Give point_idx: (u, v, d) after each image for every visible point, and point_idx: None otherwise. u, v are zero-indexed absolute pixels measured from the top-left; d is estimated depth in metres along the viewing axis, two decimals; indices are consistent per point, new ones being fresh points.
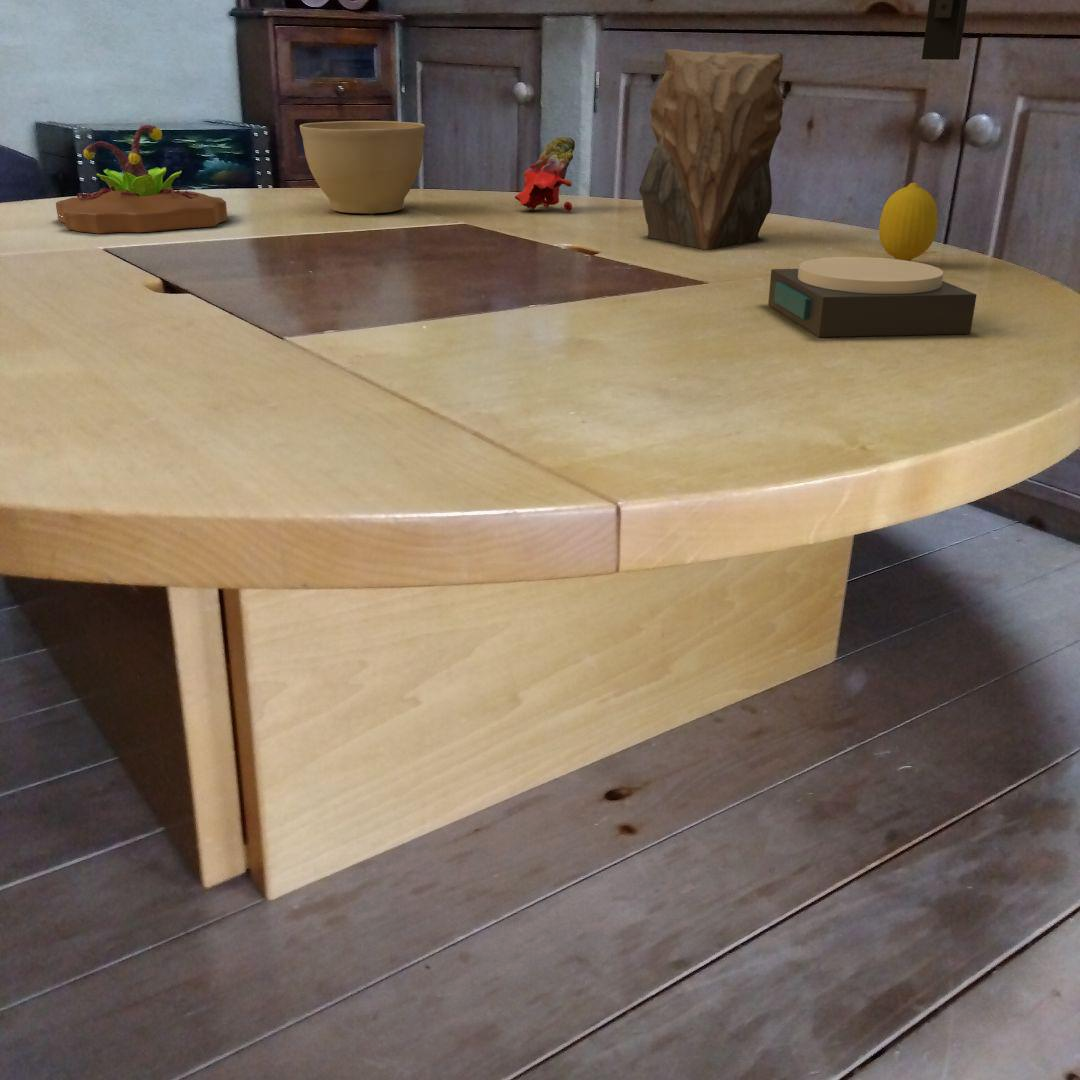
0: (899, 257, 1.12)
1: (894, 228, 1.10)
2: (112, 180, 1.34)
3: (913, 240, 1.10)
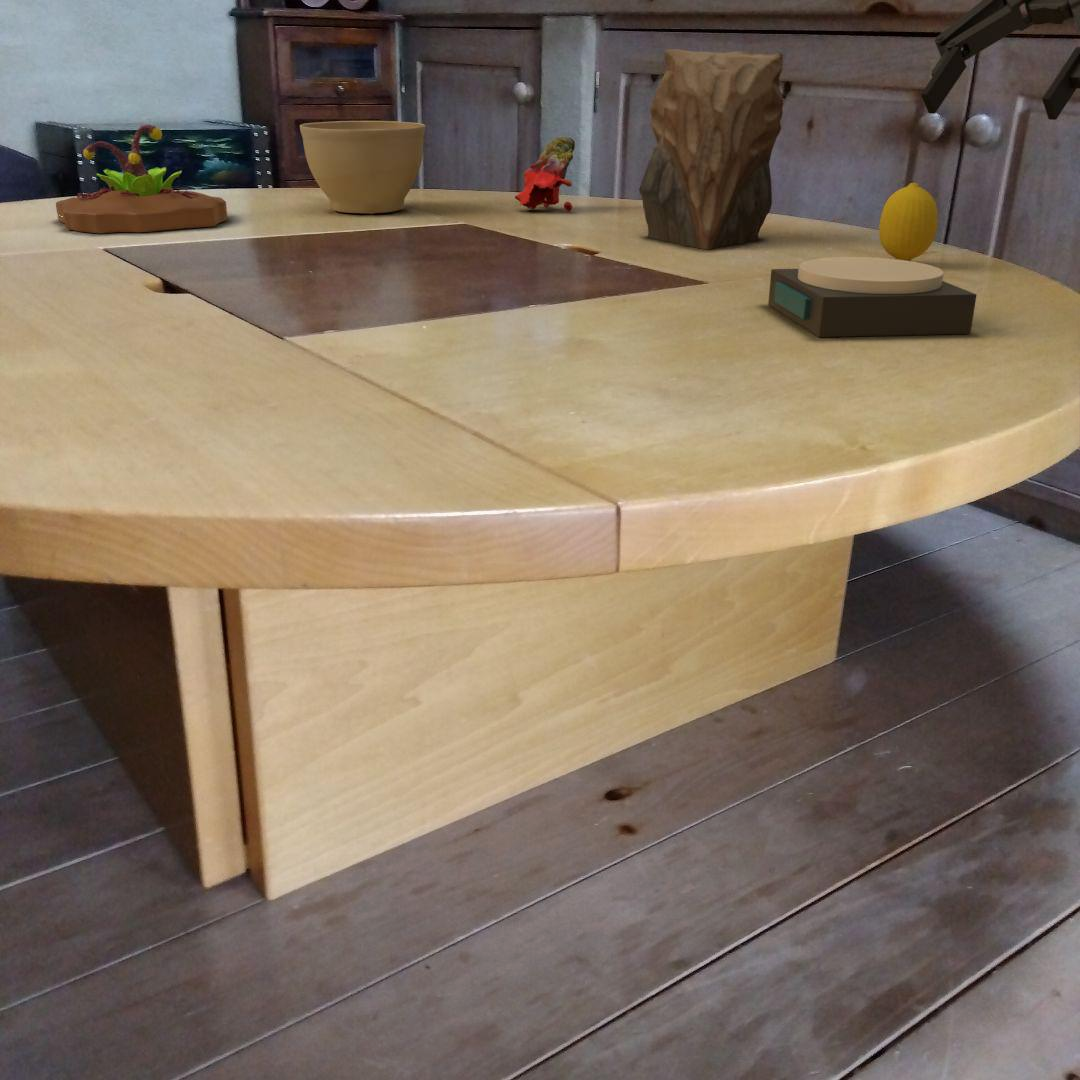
0: (899, 257, 1.12)
1: (894, 228, 1.10)
2: (112, 180, 1.34)
3: (913, 240, 1.10)
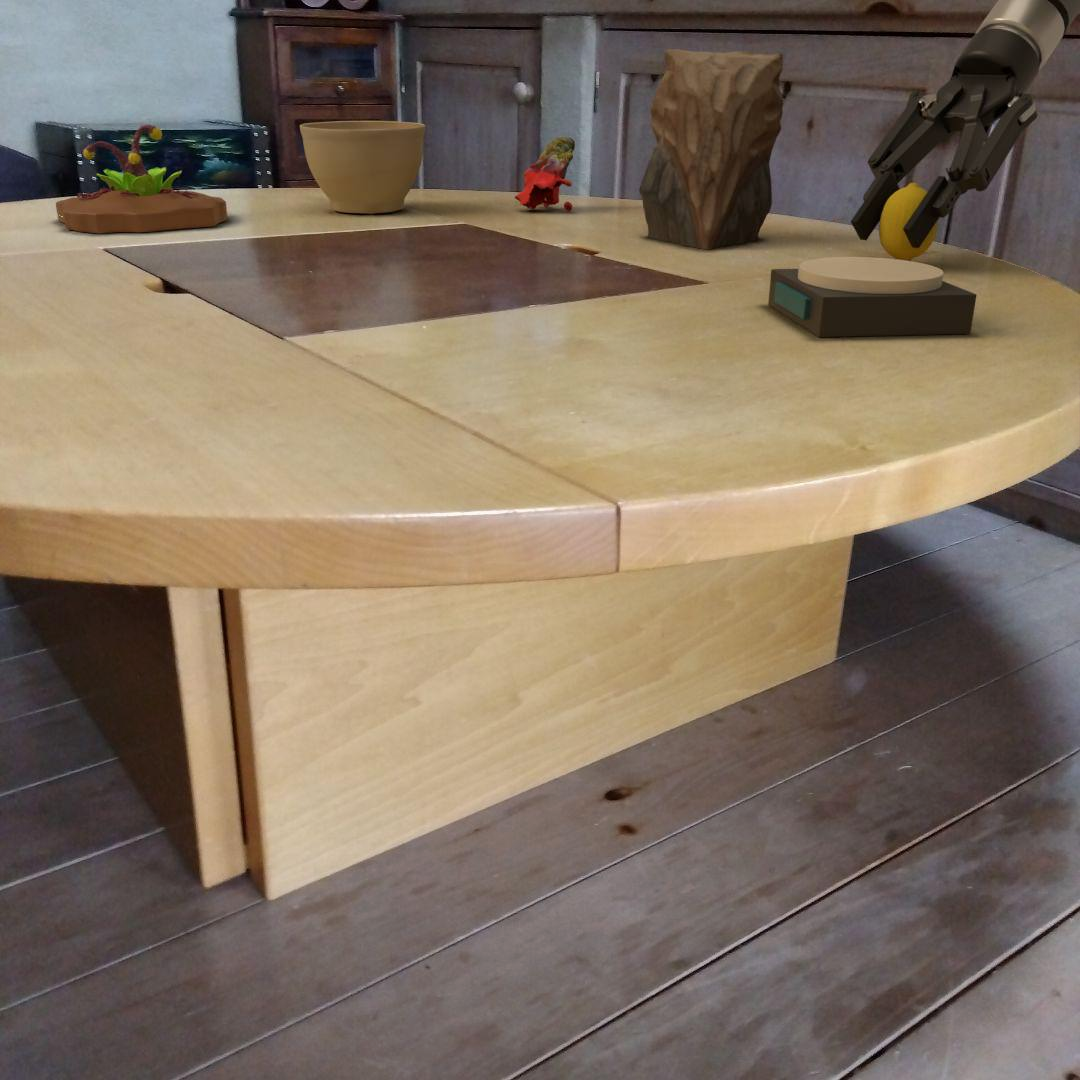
0: (899, 257, 1.12)
1: (894, 228, 1.10)
2: (112, 180, 1.34)
3: None
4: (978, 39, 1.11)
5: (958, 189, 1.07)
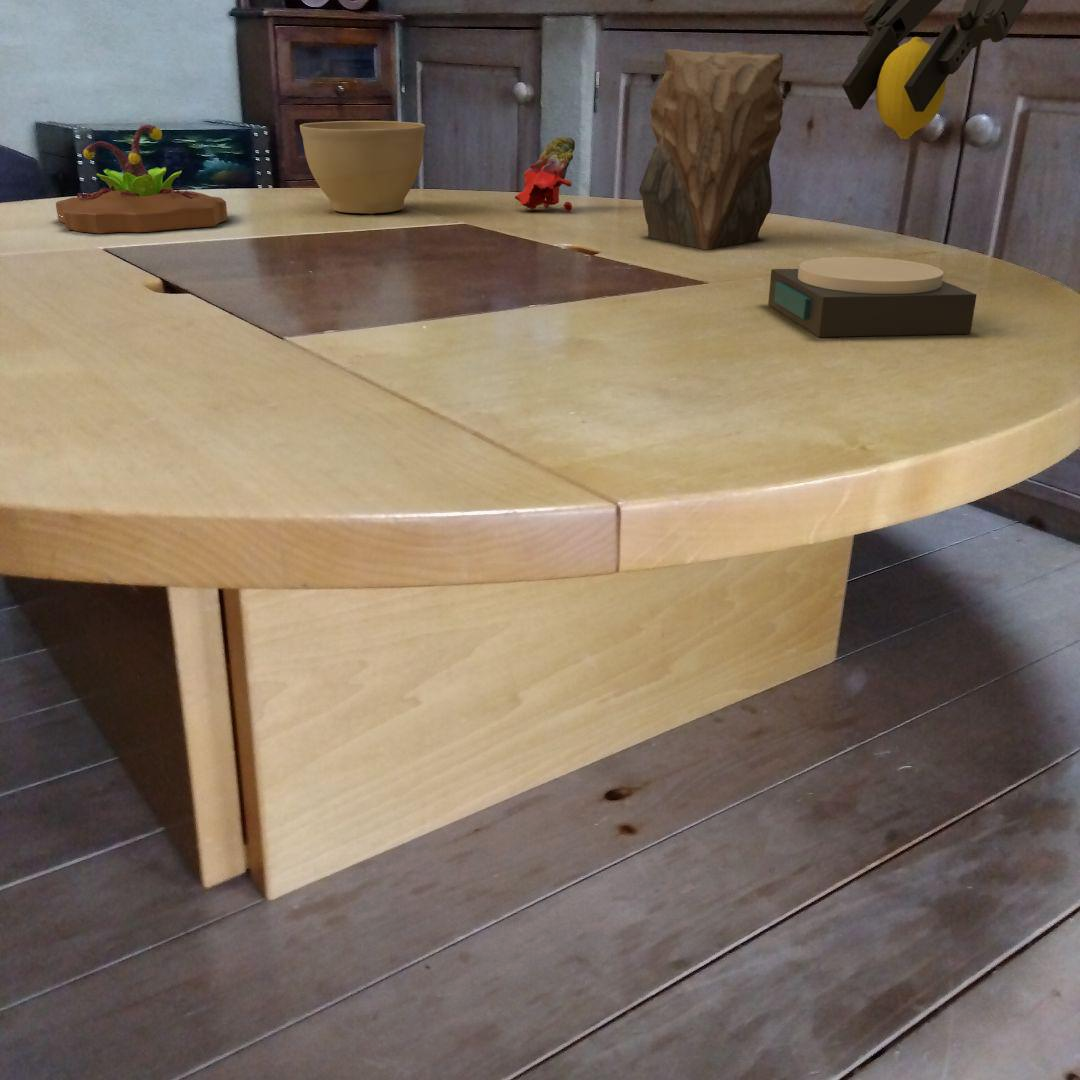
0: (900, 128, 0.94)
1: (894, 90, 0.92)
2: (112, 180, 1.34)
3: None
4: None
5: (970, 39, 0.90)
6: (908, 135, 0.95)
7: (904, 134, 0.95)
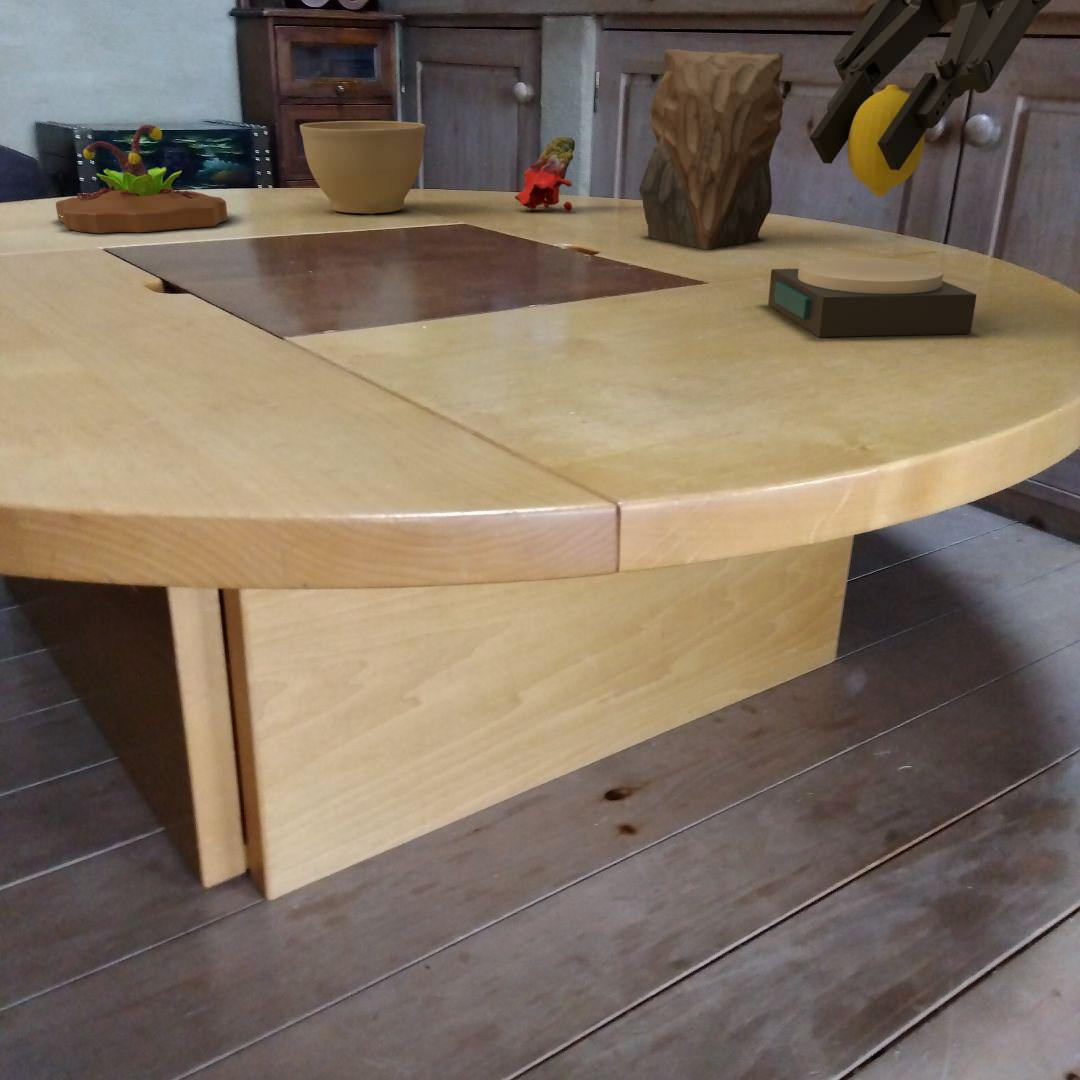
0: (874, 185, 0.85)
1: (867, 144, 0.83)
2: (112, 180, 1.34)
3: None
4: None
5: (952, 90, 0.80)
6: (883, 192, 0.86)
7: (879, 191, 0.85)
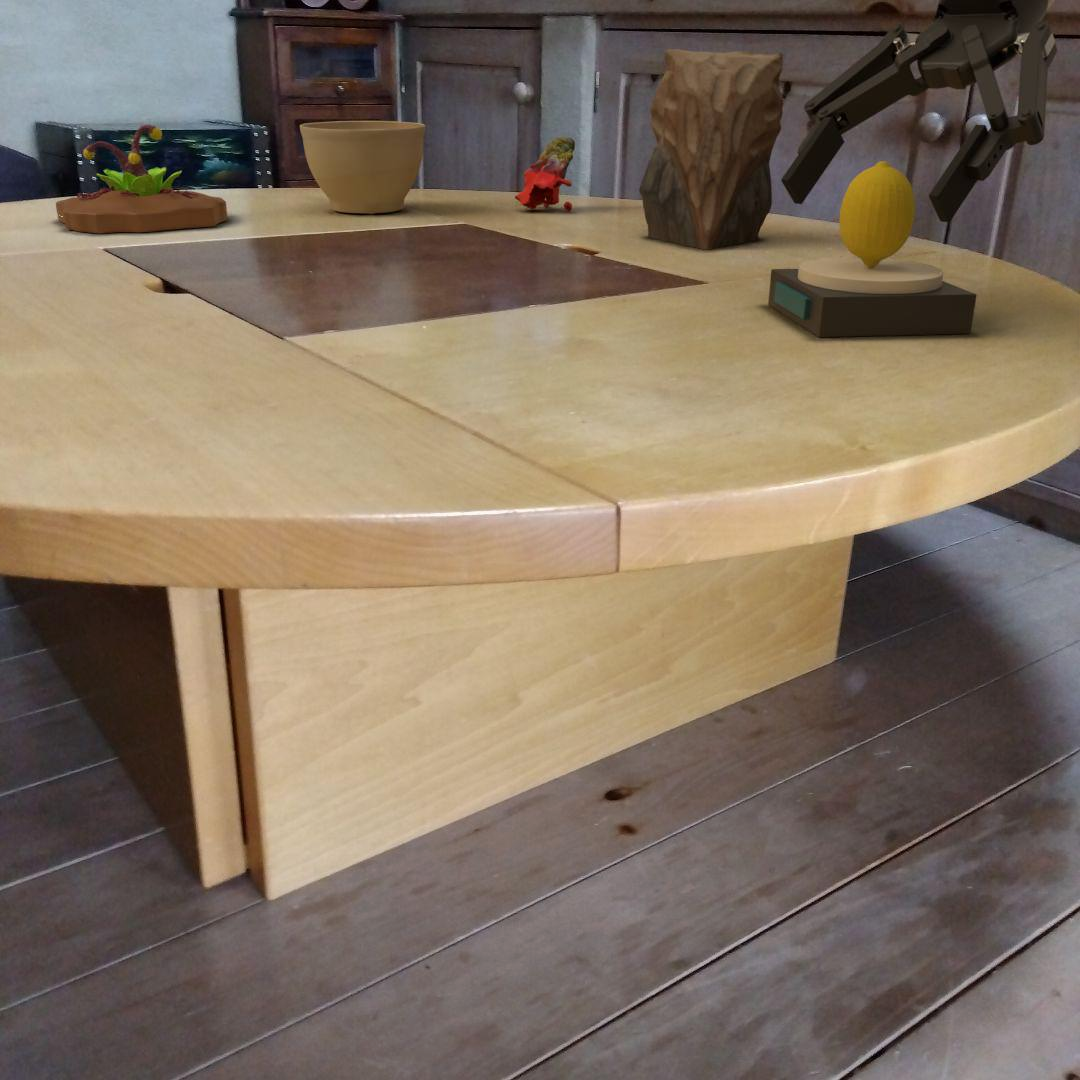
0: (865, 257, 0.87)
1: (858, 220, 0.85)
2: (112, 180, 1.34)
3: (882, 236, 0.85)
4: None
5: (1003, 142, 0.79)
6: (874, 264, 0.88)
7: (870, 263, 0.88)
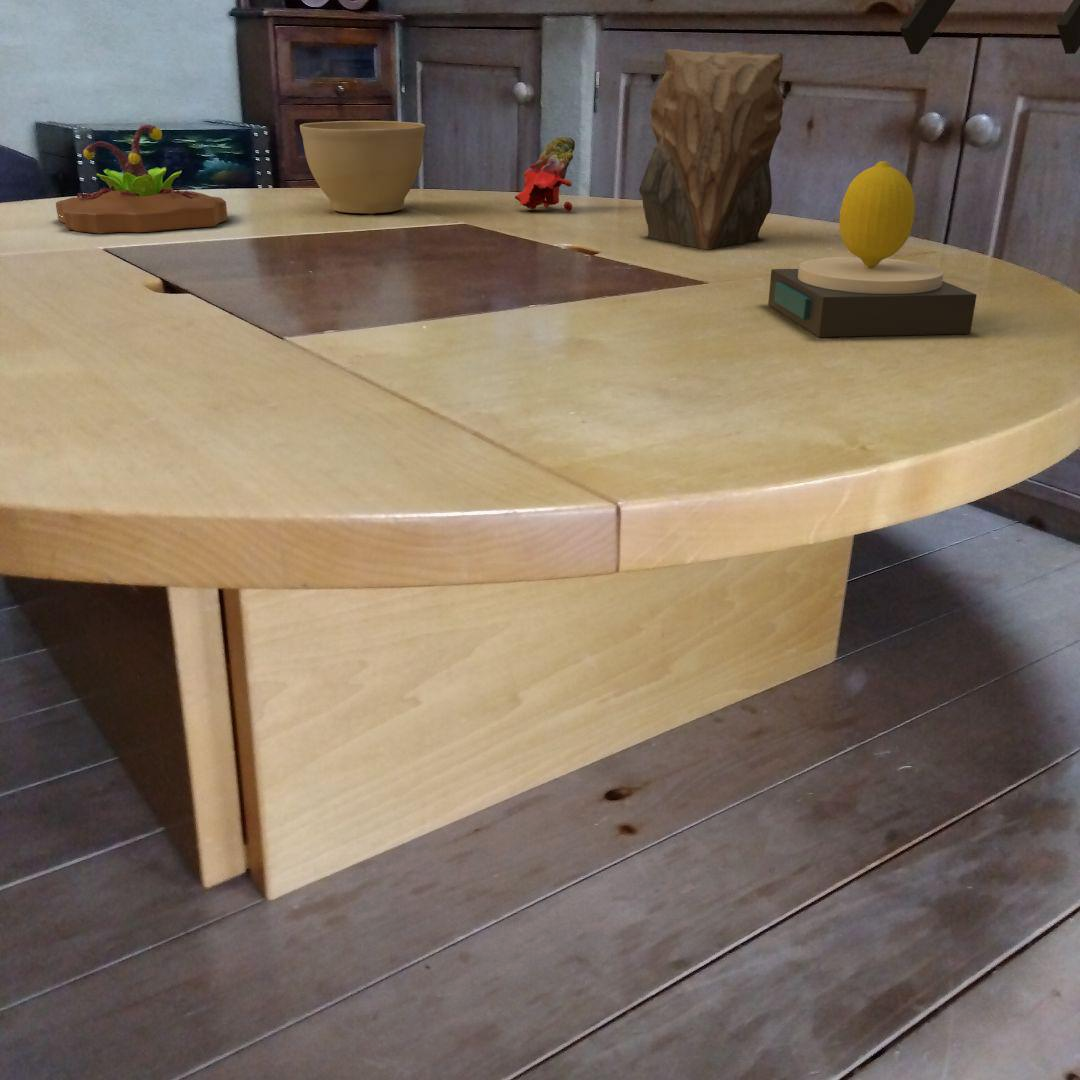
0: (865, 257, 0.87)
1: (858, 220, 0.85)
2: (112, 180, 1.34)
3: (882, 236, 0.85)
4: None
5: None
6: (874, 264, 0.88)
7: (870, 263, 0.88)
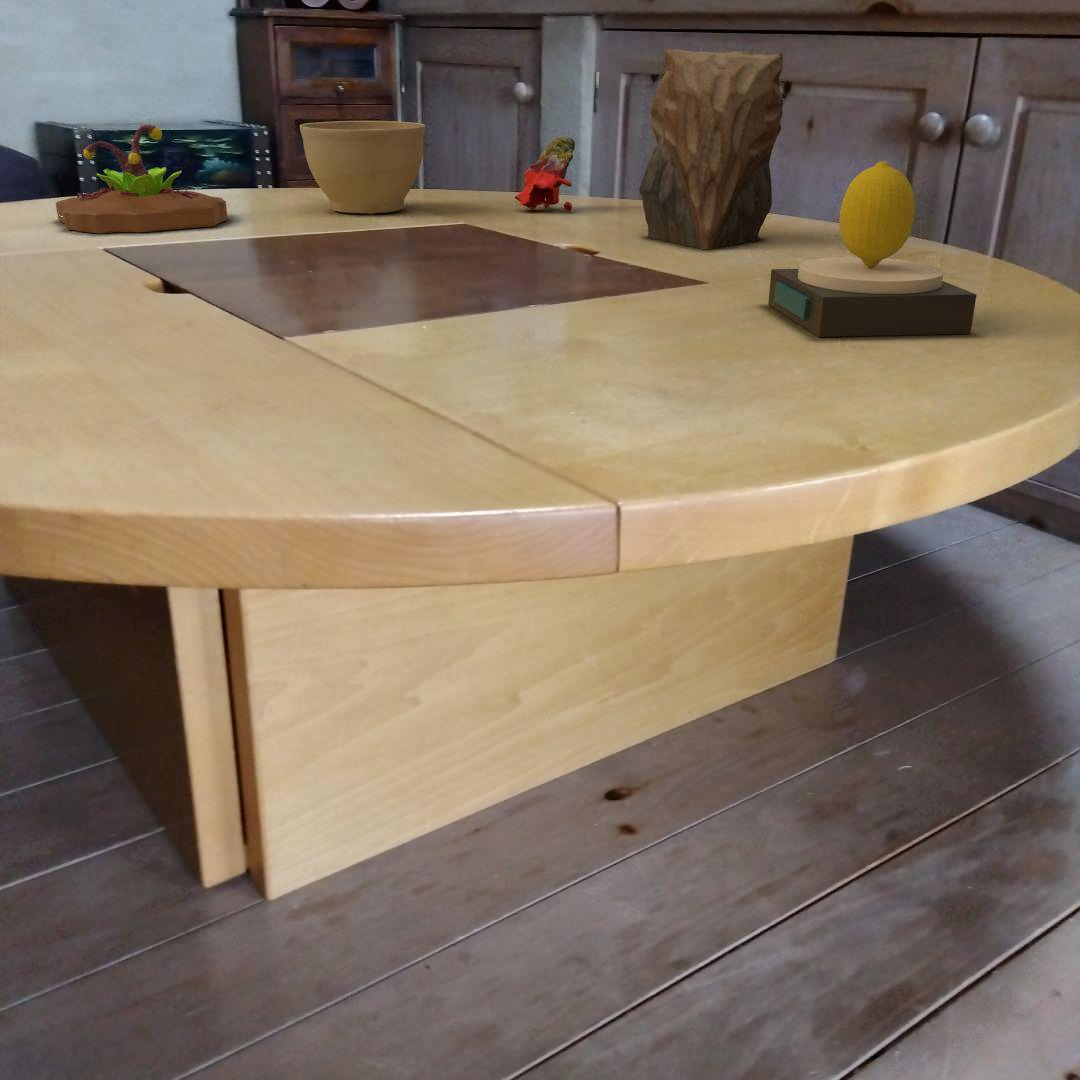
0: (865, 257, 0.87)
1: (858, 220, 0.85)
2: (112, 180, 1.34)
3: (882, 236, 0.85)
4: None
5: None
6: (874, 264, 0.88)
7: (870, 263, 0.88)
